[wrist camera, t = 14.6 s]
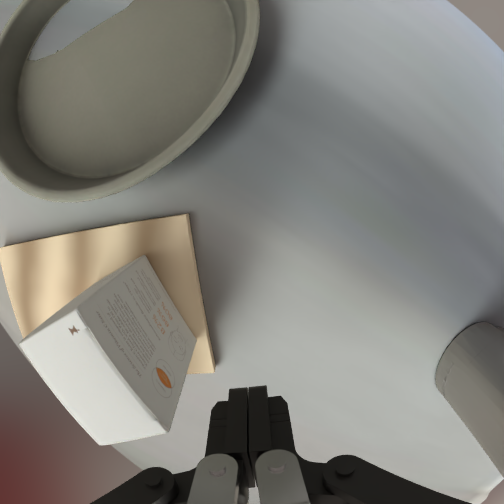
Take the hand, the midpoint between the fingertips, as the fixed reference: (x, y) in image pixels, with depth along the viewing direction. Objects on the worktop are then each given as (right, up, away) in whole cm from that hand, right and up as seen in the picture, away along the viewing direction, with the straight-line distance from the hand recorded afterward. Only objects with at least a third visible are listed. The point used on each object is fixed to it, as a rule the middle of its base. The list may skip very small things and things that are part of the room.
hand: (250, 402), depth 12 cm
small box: (-8, +1, +12) cm, 14 cm away
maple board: (-14, +2, +12) cm, 19 cm away
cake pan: (-12, +22, +8) cm, 27 cm away
